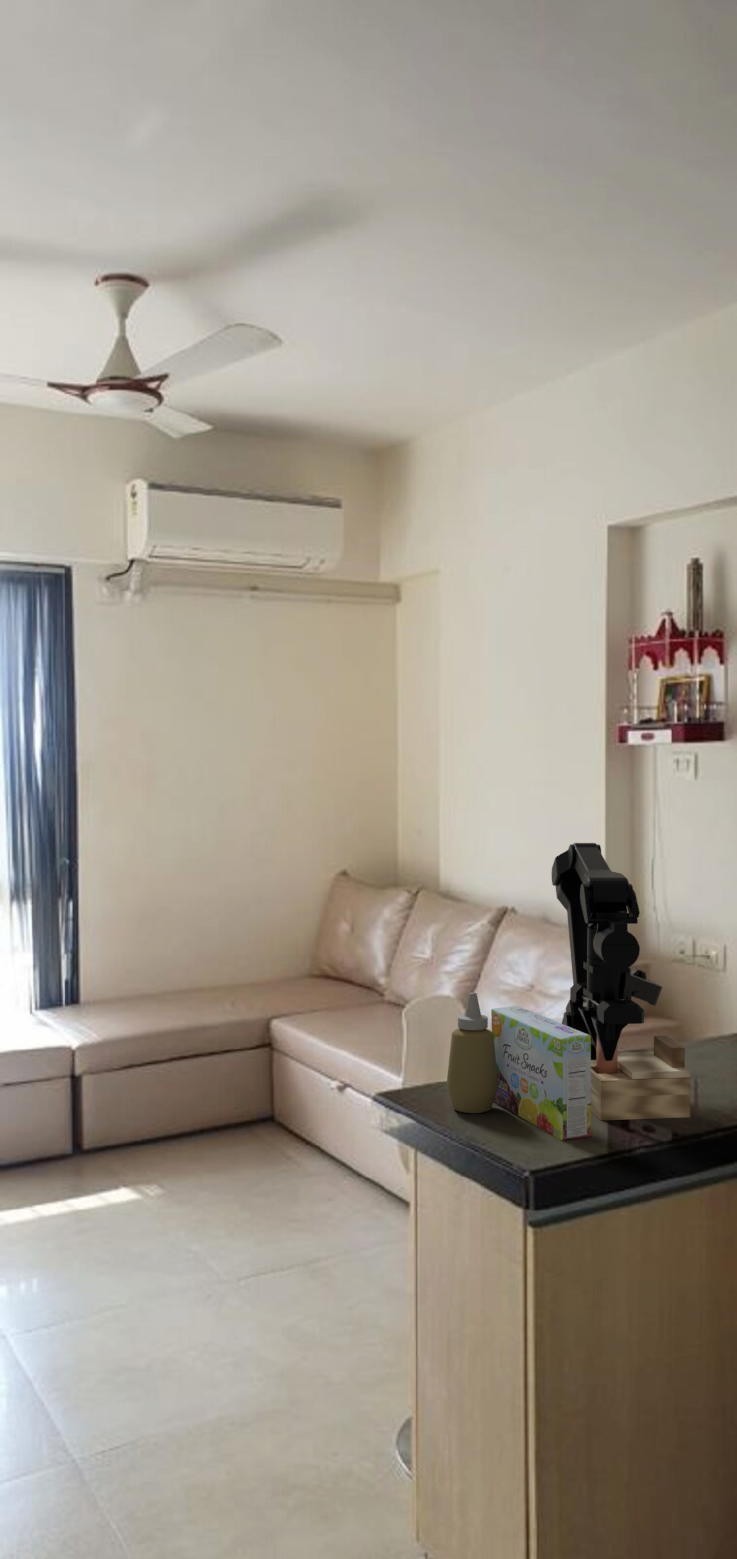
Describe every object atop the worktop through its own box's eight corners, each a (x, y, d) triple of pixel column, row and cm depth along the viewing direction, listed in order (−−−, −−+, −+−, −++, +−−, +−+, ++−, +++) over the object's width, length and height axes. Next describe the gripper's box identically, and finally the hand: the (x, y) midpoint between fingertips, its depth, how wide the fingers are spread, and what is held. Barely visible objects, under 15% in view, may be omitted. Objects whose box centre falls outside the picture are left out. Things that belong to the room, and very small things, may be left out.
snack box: (488, 1102, 199) (489, 1007, 198) (519, 1098, 201) (520, 1004, 200) (560, 1142, 179) (561, 1037, 179) (593, 1137, 181) (594, 1033, 181)
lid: (662, 1057, 203) (662, 1032, 202) (690, 1077, 191) (690, 1051, 191) (607, 1058, 202) (607, 1034, 201) (632, 1079, 190) (632, 1052, 189)
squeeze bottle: (452, 1117, 190) (453, 999, 190) (441, 1102, 198) (441, 988, 198) (504, 1115, 192) (505, 997, 191) (491, 1100, 200) (491, 987, 199)
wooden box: (662, 1094, 203) (662, 1057, 203) (690, 1117, 191) (690, 1077, 191) (577, 1097, 201) (578, 1060, 201) (600, 1120, 189) (601, 1080, 189)
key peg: (599, 1083, 194) (600, 1031, 193) (593, 1077, 197) (594, 1026, 196) (620, 1082, 194) (620, 1030, 194) (613, 1077, 197) (613, 1026, 197)
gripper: (678, 967, 186) (677, 1071, 187) (636, 946, 205) (635, 1041, 205) (605, 968, 185) (604, 1074, 185) (569, 947, 204) (568, 1043, 204)
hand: (605, 1057), depth 195 cm, fingers closed on key peg, 3 cm apart
